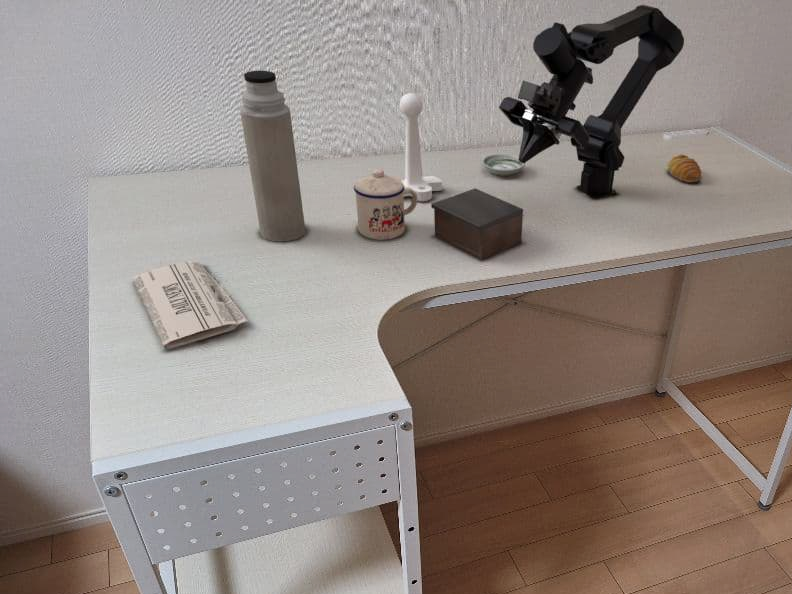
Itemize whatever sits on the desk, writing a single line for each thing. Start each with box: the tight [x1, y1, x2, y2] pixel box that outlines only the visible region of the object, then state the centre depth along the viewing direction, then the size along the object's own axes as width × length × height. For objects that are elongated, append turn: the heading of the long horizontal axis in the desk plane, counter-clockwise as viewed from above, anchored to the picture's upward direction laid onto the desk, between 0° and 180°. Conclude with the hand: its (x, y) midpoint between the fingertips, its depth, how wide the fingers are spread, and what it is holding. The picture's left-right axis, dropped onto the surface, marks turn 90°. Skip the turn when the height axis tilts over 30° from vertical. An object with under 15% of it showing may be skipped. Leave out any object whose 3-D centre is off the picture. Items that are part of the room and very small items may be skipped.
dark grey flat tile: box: [430, 187, 524, 230], centre depth 141 cm, size 11×13×1 cm
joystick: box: [399, 92, 443, 203], centre depth 153 cm, size 11×8×20 cm
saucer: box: [481, 153, 526, 177], centre depth 172 cm, size 10×10×2 cm
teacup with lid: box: [353, 168, 418, 241], centre depth 142 cm, size 12×9×12 cm
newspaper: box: [132, 259, 248, 351], centre depth 120 cm, size 23×12×2 cm, turn 33°
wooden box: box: [433, 209, 524, 261], centre depth 143 cm, size 11×13×6 cm
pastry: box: [667, 154, 702, 183], centre depth 176 cm, size 9×7×4 cm
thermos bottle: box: [239, 70, 306, 242], centre depth 134 cm, size 8×8×28 cm
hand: (520, 161), depth 144 cm, fingers closed
